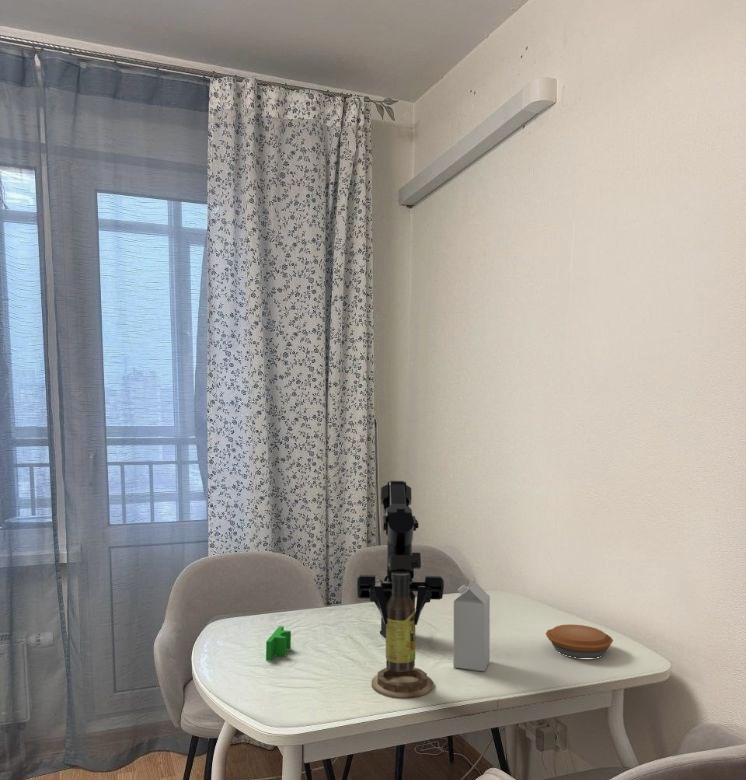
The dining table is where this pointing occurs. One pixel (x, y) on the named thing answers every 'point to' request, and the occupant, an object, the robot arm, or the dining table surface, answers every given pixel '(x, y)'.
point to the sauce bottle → (400, 625)
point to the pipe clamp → (278, 643)
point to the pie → (579, 641)
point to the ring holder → (402, 683)
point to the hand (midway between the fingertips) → (400, 623)
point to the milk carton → (472, 628)
